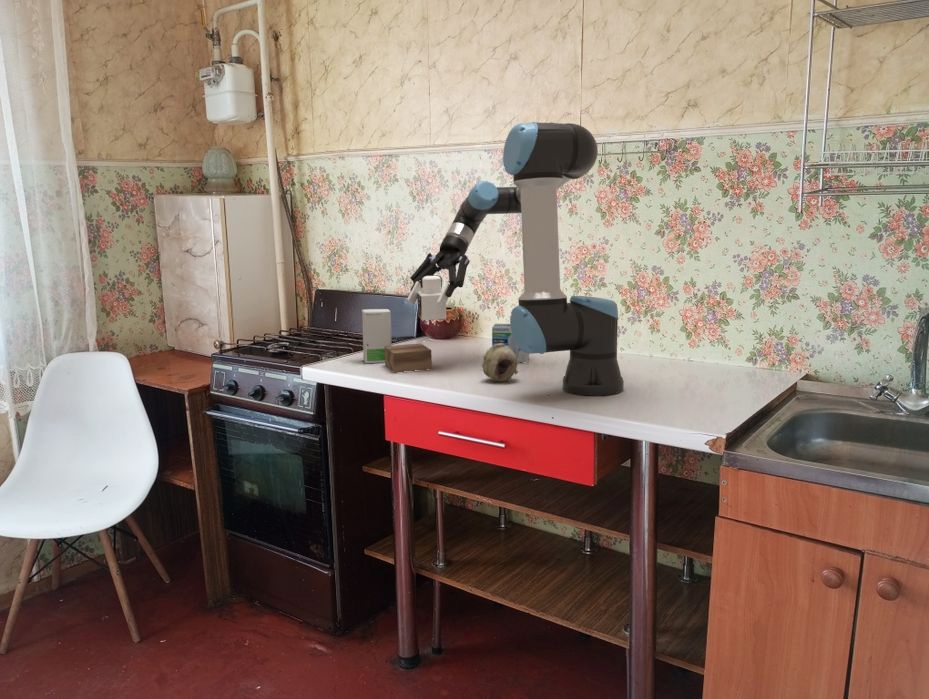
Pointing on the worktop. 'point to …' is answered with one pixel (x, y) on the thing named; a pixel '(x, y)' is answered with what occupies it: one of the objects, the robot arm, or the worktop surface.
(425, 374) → the worktop surface
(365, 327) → the skincare box
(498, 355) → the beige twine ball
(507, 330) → the light bulb box
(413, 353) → the walnut block
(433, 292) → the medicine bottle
